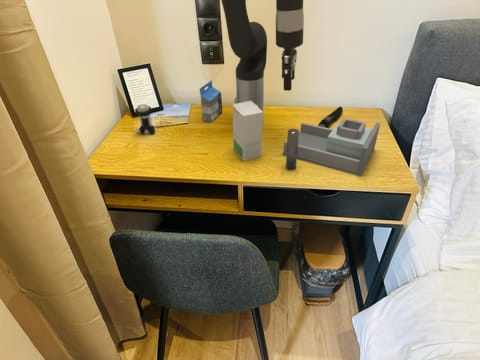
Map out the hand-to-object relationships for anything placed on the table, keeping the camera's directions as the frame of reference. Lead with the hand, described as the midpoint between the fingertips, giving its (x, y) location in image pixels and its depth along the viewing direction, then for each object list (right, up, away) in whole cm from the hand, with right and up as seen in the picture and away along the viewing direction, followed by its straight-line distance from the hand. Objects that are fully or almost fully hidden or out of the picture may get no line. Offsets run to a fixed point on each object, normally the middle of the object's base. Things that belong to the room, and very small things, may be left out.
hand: (289, 84), depth 102 cm
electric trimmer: (+18, -8, +20) cm, 28 cm away
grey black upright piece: (-48, -12, +18) cm, 52 cm away
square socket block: (+17, -20, +1) cm, 27 cm away
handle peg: (0, -25, -2) cm, 25 cm away
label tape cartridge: (-25, -5, +26) cm, 36 cm away
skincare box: (-12, -20, +5) cm, 24 cm away
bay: (+13, -20, +4) cm, 24 cm away
